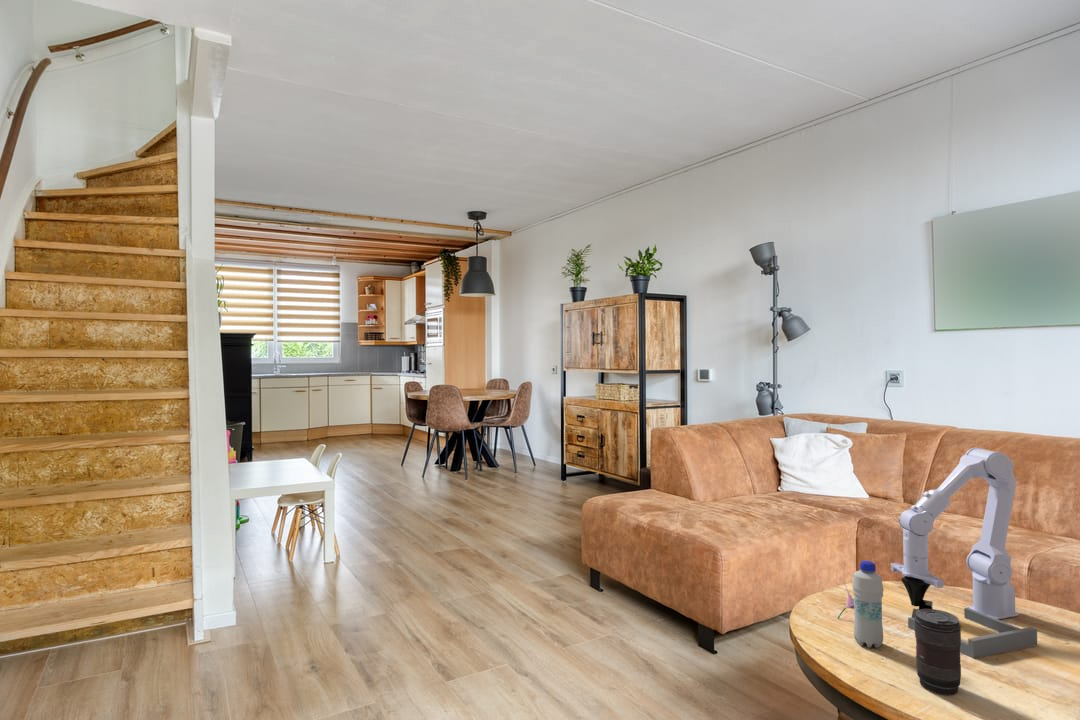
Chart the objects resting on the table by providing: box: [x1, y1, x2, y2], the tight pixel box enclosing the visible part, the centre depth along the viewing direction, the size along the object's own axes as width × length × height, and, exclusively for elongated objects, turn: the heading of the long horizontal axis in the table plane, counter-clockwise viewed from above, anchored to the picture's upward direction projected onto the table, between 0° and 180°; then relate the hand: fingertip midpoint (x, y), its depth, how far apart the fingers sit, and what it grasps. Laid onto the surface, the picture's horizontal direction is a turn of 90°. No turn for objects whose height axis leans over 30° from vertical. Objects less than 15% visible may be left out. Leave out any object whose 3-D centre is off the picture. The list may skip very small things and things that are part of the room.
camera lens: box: [914, 608, 962, 696], centre depth 127 cm, size 8×8×15 cm
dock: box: [907, 607, 1038, 659], centre depth 150 cm, size 20×17×4 cm
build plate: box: [911, 599, 934, 618], centre depth 161 cm, size 12×7×5 cm, turn 144°
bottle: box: [851, 560, 884, 649], centre depth 147 cm, size 7×7×20 cm
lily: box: [837, 577, 854, 619], centre depth 161 cm, size 12×12×10 cm
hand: (916, 605), depth 165 cm, fingers closed
